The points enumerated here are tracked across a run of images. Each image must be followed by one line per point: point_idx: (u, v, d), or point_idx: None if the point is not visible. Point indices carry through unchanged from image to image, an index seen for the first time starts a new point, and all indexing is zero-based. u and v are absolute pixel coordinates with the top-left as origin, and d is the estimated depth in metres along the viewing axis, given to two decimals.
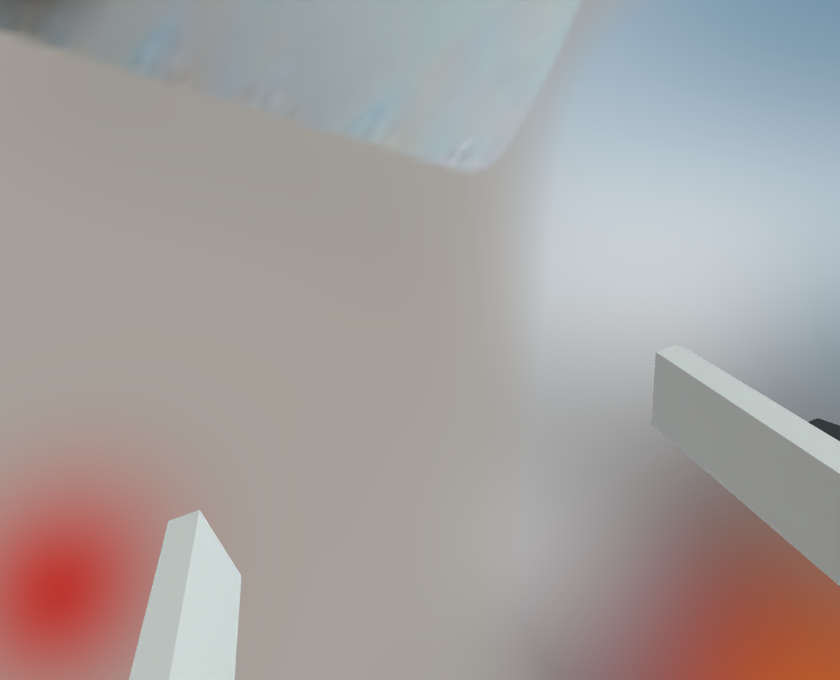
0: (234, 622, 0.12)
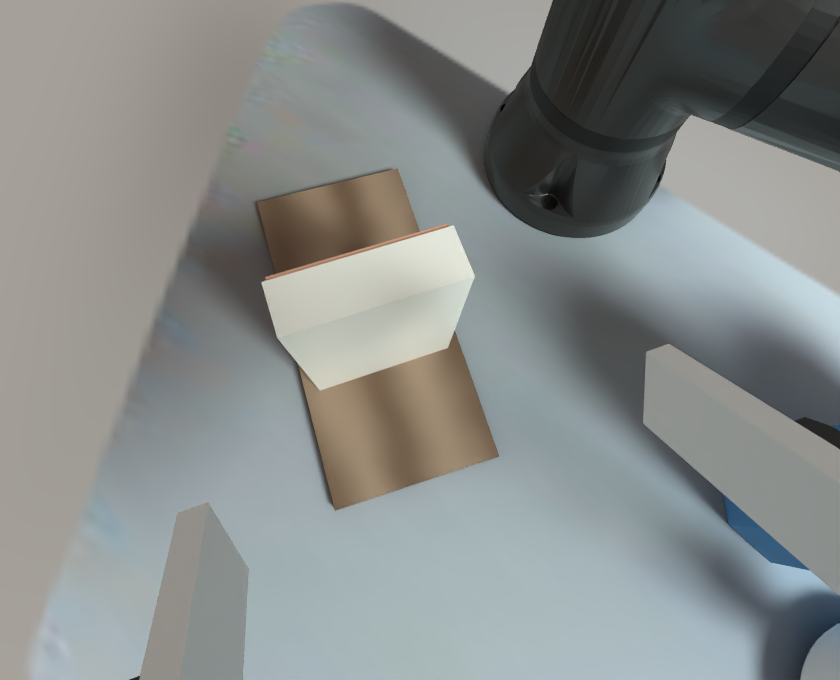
0: (242, 613, 0.12)
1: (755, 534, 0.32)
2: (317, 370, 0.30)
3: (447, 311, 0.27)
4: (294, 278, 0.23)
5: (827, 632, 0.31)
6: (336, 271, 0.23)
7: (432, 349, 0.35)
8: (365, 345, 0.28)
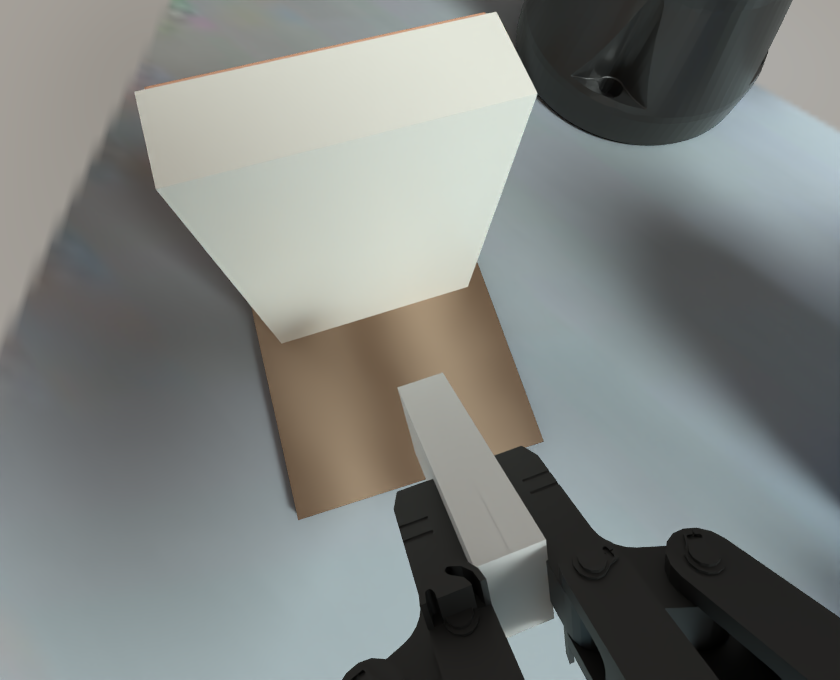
0: None
1: None
2: (266, 299, 0.19)
3: (477, 192, 0.16)
4: (198, 87, 0.12)
5: None
6: (278, 78, 0.12)
7: (446, 285, 0.24)
8: (341, 253, 0.17)
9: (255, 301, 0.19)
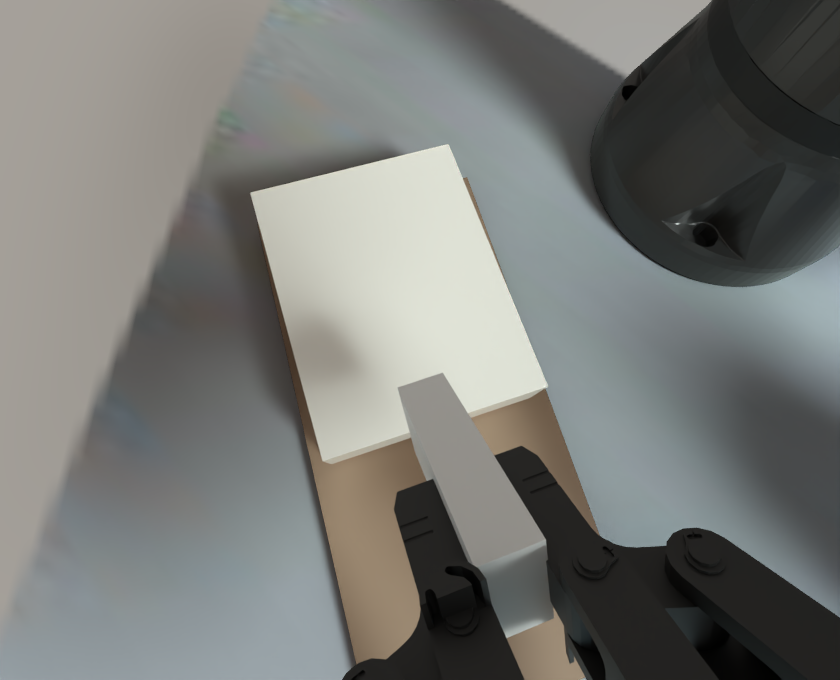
0: None
1: None
2: (304, 334, 0.21)
3: (457, 218, 0.23)
4: None
5: None
6: None
7: (510, 371, 0.21)
8: (364, 274, 0.22)
9: (294, 334, 0.21)
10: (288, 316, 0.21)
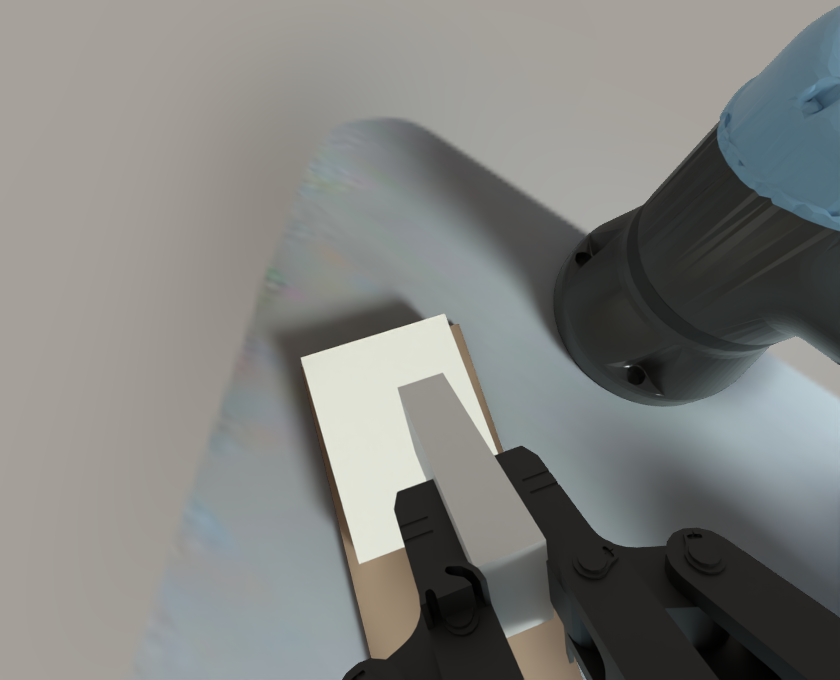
0: None
1: None
2: (343, 468, 0.29)
3: (451, 373, 0.31)
4: None
5: None
6: None
7: None
8: (385, 420, 0.30)
9: (336, 468, 0.29)
10: (331, 454, 0.29)
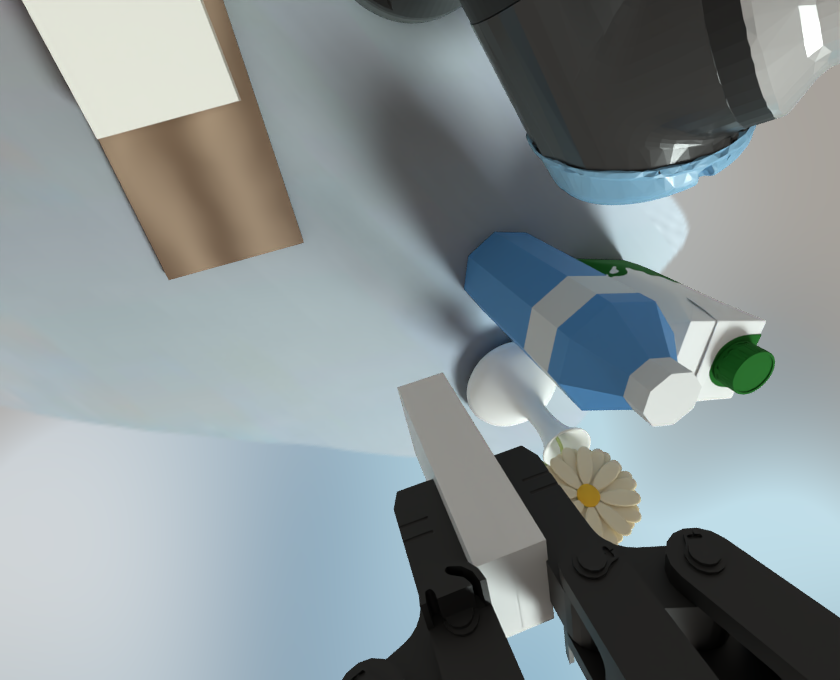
0: None
1: None
2: (59, 47, 0.30)
3: None
4: None
5: (496, 348, 0.53)
6: None
7: (213, 88, 0.33)
8: None
9: (52, 47, 0.30)
10: (42, 31, 0.30)
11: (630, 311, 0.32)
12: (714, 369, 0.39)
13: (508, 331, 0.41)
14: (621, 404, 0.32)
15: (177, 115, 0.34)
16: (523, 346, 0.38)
